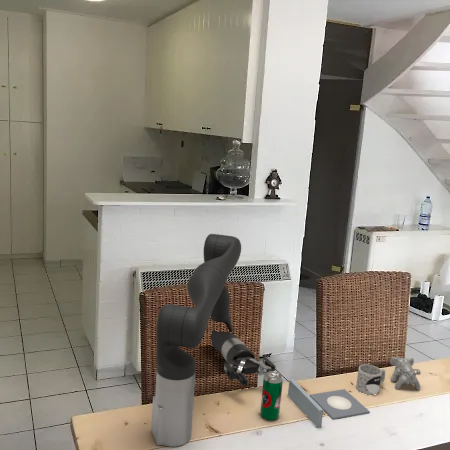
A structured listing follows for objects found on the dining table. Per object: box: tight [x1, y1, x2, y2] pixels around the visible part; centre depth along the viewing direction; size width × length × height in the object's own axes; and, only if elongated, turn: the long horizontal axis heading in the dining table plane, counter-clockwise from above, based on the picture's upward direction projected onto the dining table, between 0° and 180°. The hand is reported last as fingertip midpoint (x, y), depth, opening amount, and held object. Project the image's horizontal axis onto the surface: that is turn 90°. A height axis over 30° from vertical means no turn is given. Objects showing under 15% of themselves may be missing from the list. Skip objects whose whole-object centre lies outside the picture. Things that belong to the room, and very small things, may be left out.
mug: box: [355, 363, 386, 396], centre depth 151 cm, size 10×7×7 cm, turn 120°
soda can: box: [259, 370, 284, 422], centre depth 133 cm, size 5×5×12 cm
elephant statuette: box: [389, 356, 422, 391], centre depth 157 cm, size 9×12×8 cm
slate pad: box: [309, 388, 371, 421], centre depth 142 cm, size 12×12×1 cm
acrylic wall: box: [287, 378, 324, 429], centre depth 137 cm, size 1×16×5 cm, turn 21°
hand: (260, 381), depth 139 cm, fingers open, 8 cm apart
